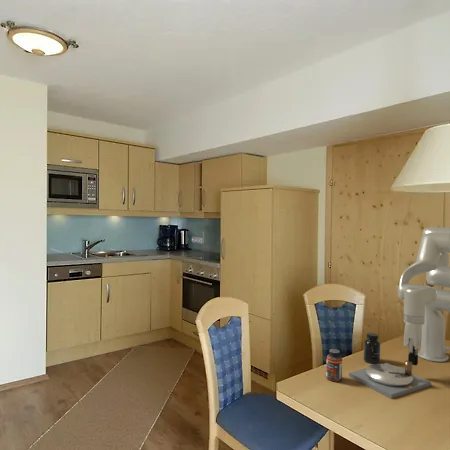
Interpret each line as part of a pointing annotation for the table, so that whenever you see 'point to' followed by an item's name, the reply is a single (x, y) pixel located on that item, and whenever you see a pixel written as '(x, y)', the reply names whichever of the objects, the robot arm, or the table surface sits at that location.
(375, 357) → the supplement bottle
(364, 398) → the table surface
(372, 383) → the base plate
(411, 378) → the dial
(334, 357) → the supplement bottle
